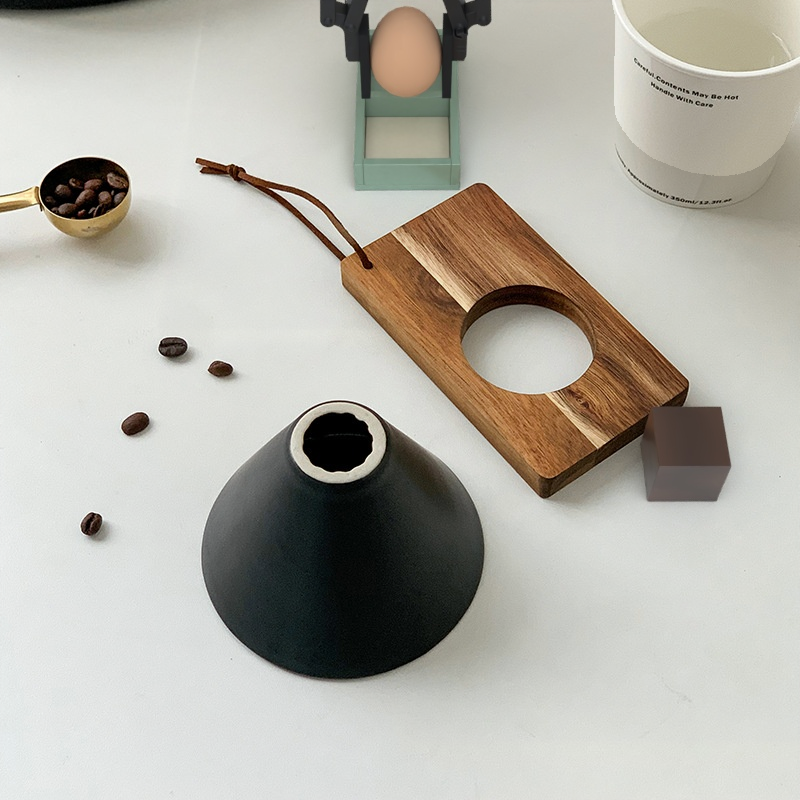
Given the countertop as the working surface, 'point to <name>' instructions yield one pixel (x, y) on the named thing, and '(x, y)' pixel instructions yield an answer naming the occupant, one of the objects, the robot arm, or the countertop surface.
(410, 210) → the countertop surface
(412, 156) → the sorting tray
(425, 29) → the egg
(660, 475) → the walnut block
